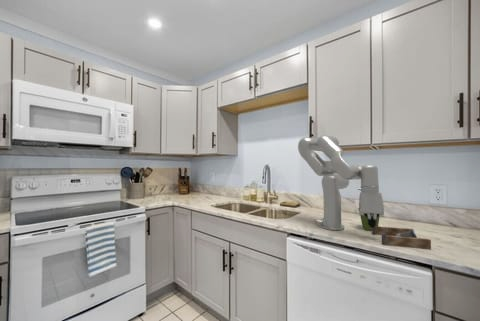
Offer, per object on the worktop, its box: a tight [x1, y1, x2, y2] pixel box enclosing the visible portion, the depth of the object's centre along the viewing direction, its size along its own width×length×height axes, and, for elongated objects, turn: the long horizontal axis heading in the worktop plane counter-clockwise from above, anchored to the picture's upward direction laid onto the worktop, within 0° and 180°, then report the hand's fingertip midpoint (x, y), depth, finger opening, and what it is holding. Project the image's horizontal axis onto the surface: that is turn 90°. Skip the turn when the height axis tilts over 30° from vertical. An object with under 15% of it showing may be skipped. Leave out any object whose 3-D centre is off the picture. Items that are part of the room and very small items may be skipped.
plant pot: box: [357, 207, 381, 232], centre depth 122 cm, size 12×12×11 cm
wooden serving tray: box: [371, 225, 432, 250], centre depth 103 cm, size 18×17×5 cm
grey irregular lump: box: [396, 228, 418, 238], centre depth 101 cm, size 10×7×12 cm
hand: (371, 226), depth 106 cm, fingers closed
